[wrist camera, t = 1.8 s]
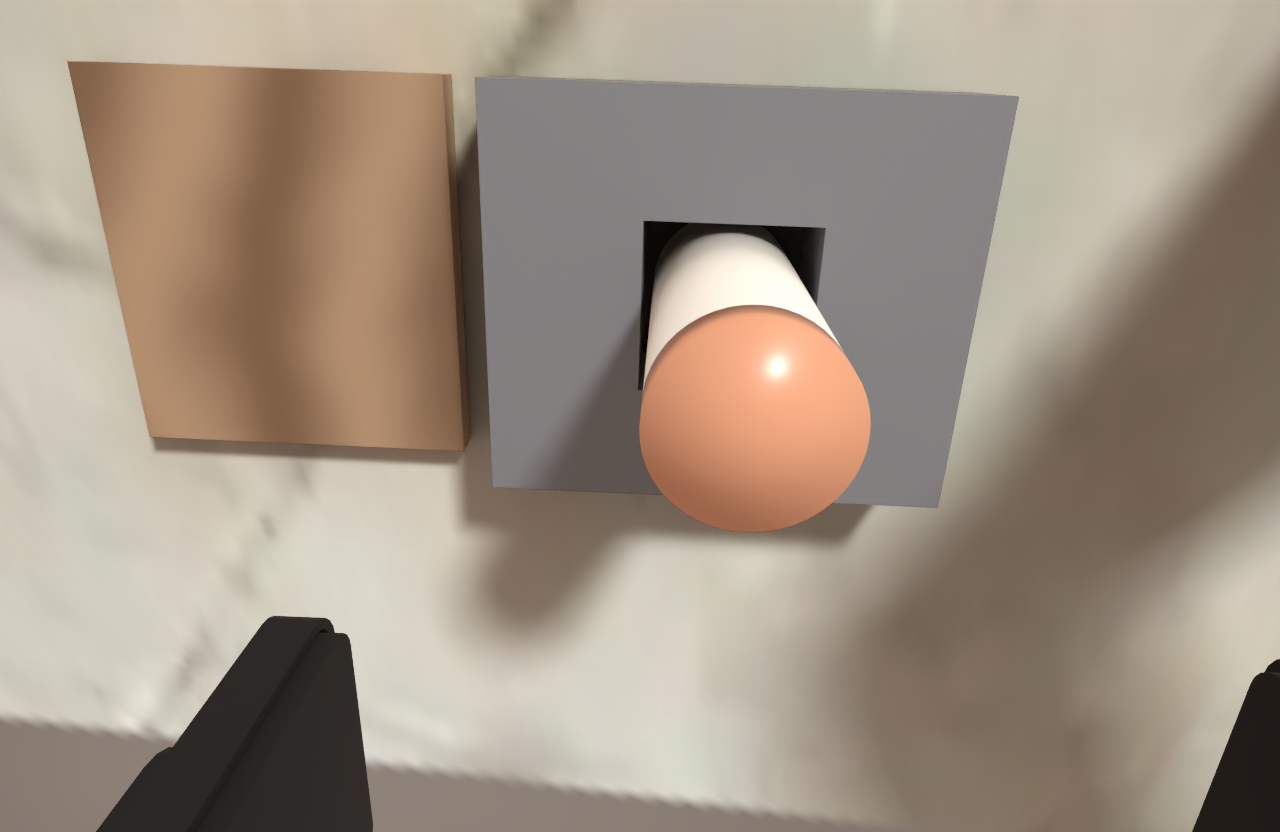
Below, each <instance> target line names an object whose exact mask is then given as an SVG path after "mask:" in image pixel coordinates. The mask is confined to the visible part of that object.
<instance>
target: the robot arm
mask: <svg viewBox="0 0 1280 832" xmlns="http://www.w3.org/2000/svg"><path fill="white" fill-rule="evenodd" d="M372 831H373V821H372V812H371V804H370V796H369V788H368V780H367V772H366V764H365V756H364V748H363V740H362V732H361V724H360V716H359V708H358V700H357V692H356V683H355V675H354V667H353V659H352V651H351V644H350V640H349V637H348V636H347V634H344V633H335V632H334V628H333V625H332V623H331V622H330V620H328V619H326V618H310V617H286V616H273V617H270V618H268V619H267V620H266V621H265V622H264V623H263V624H262V625H261V627H260V628H259V630H258V631H257V632H256V634H255V635H254V636H253V638H252V639H251V641H250V642H249V643H248V645H247V646H246V647H245V649H244V650H243V652H242V653H241V654H240V656H239V657H238V658H237V660H236V661H235V663H234V664H233V665H232V667H231V668H230V669H229V671H228V672H227V674H226V675H225V676H224V678H223V679H222V680H221V682H220V683H219V685H218V686H217V687H216V689H215V690H214V691H213V693H212V694H211V696H210V697H209V698H208V700H207V701H206V702H205V704H204V705H203V707H202V708H201V709H200V711H199V712H198V713H197V715H196V716H195V718H194V719H193V720H192V722H191V723H190V724H189V726H188V727H187V729H186V730H185V731H184V733H183V734H182V735H181V737H180V738H179V740H178V741H177V742H176V744H175V745H174V746H173V747H168V748H167V749H165V750H163V751H161V752H160V753H158V754H156V755H155V756H154V757H153V759H152V760H151V761H150V762H149V763H148V764H147V765H146V766H145V767H144V768H143V770H142V771H141V772H140V774H139V775H138V776H137V778H136V779H135V780H134V782H133V783H132V785H131V786H130V787H129V789H128V790H127V791H126V792H125V794H124V795H123V796H122V798H121V799H120V801H119V802H118V803H117V804H116V806H115V807H114V809H113V810H112V811H111V812H110V814H109V815H108V817H107V818H106V819H105V821H104V822H103V823H102V825H101V826H100V827H99V829H98V830H97V831H96V832H372ZM1192 832H1280V659H1278V660H1276V661H1274V662H1273V663H1271V664H1270V665H1269V666H1268V667H1267V669H1266V671H1265V672H1264V673H1260V674H1258V675H1257V676H1256V677H1255V678H1254V679H1253V681H1252V682H1251V684H1250V687H1249V689H1248V692H1247V695H1246V697H1245V700H1244V702H1243V705H1242V707H1241V710H1240V712H1239V715H1238V717H1237V720H1236V722H1235V725H1234V727H1233V730H1232V732H1231V735H1230V738H1229V740H1228V743H1227V745H1226V748H1225V750H1224V753H1223V755H1222V758H1221V760H1220V763H1219V765H1218V768H1217V770H1216V773H1215V775H1214V778H1213V781H1212V783H1211V786H1210V788H1209V791H1208V793H1207V796H1206V798H1205V801H1204V803H1203V806H1202V808H1201V811H1200V813H1199V816H1198V819H1197V821H1196V824H1195V826H1194V829H1193V831H1192Z"/></svg>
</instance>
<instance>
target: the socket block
mask: <svg viewBox="0 0 1280 832" xmlns="http://www.w3.org/2000/svg"><path fill="white" fill-rule="evenodd" d="M475 89H476V113H477V136H478V160H479V183H480V207H481V230H482V254H483V277H484V301H485V324H486V348H487V371H488V395H489V419H490V442H491V466H492V487H501V488H523V489H544V490H565V491H587V492H608V493H630V494H651V495H663V493H662V492H661V491H660V490H659V488H658V487H657V485H656V484H655V483H654V481H653V480H652V478H651V476H650V474H649V472H648V470H647V468H646V465H645V462H644V459H643V456H642V451H641V445H640V434H639V426H640V415H641V405H642V395H643V385H644V375H645V365H646V355H647V353H642V341H643V313H644V284H645V255H646V226H647V221H666V222H692V223H717V224H743V225H768V226H794V227H805V231H804V240H803V250H802V259H801V268H800V277H799V278H800V280H801V281H802V283H803V285H804V286H805V288H806V290H807V291H808V293H809V295H810V296H811V298H812V300H813V301H814V303H815V305H816V306H817V308H818V310H819V311H820V313H821V315H822V316H823V318H824V320H825V321H826V323H827V325H828V327H829V328H830V330H831V332H832V333H833V335H834V337H835V338H836V340H837V342H838V343H839V345H840V347H841V348H842V350H843V352H844V353H845V355H846V357H847V358H848V360H849V362H850V363H851V365H852V367H853V368H854V370H855V372H856V374H857V375H858V377H859V379H860V381H861V383H862V385H863V387H864V390H865V393H866V395H867V399H868V404H869V409H870V420H871V428H870V439H869V443H868V448H867V452H866V455H865V457H864V460H863V462H862V465H861V467H860V469H859V471H858V472H857V474H856V476H855V478H854V479H853V481H852V482H851V483H850V485H849V486H848V487H847V489H846V490H845V491H844V492H843V493H842V494H841V495H840V496H839V497H838V498H837V499H836V500H835V501H834V502H833V503H843V504H865V505H886V506H907V507H929V508H938V505H939V500H940V495H941V490H942V485H943V480H944V474H945V469H946V464H947V459H948V454H949V449H950V444H951V439H952V434H953V429H954V424H955V419H956V414H957V409H958V403H959V398H960V393H961V388H962V383H963V378H964V373H965V368H966V363H967V358H968V353H969V348H970V343H971V338H972V332H973V327H974V322H975V317H976V312H977V307H978V302H979V297H980V292H981V287H982V282H983V277H984V272H985V266H986V261H987V256H988V251H989V246H990V241H991V236H992V231H993V226H994V221H995V216H996V211H997V206H998V201H999V195H1000V190H1001V185H1002V180H1003V175H1004V170H1005V165H1006V160H1007V155H1008V150H1009V145H1010V140H1011V135H1012V130H1013V124H1014V119H1015V114H1016V109H1017V104H1018V99H1019V97H1018V96H1006V95H994V94H981V93H963V92H935V91H906V90H878V89H849V88H821V87H793V86H764V85H736V84H708V83H679V82H651V81H622V80H594V79H566V78H537V77H509V76H495V77H475Z"/></svg>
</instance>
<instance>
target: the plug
mask: <svg viewBox="0 0 1280 832" xmlns="http://www.w3.org/2000/svg"><path fill="white" fill-rule="evenodd" d="M870 428H871V420H870V409H869V404H868V399H867V395H866V393H865V390H864V387H863V385H862V383H861V381H860V379H859V377H858V375H857V374H856V372H855V370H854V368H853V367H852V365H851V363H850V362H849V360H848V358H847V357H846V355H845V353H844V352H843V350H842V348H841V347H840V345H839V343H838V342H837V340H836V338H835V337H834V335H833V333H832V332H831V330H830V328H829V327H828V325H827V323H826V321H825V320H824V318H823V316H822V315H821V313H820V311H819V310H818V308H817V306H816V305H815V303H814V301H813V300H812V298H811V296H810V295H809V293H808V291H807V290H806V288H805V286H804V285H803V283H802V281H801V280H800V278H799V276H798V275H797V273H796V271H795V270H794V268H793V266H792V265H791V263H790V261H789V260H788V258H787V256H786V255H785V253H784V251H783V250H782V248H781V246H780V245H779V243H778V242H777V240H776V239H775V238H774V237H773V236H772V235H771V234H770V233H769V232H768V231H767V230H766V229H765V228H763V227H762V226H761V225H743V224H717V223H692V222H691V223H689V224H688V225H686V226H684V227H683V228H682V229H680V230H679V231H678V232H677V233H675V235H674V236H673V237H672V238H671V239H670V240H669V241H668V243H667V244H666V245H665V247H664V248H663V250H662V252H661V254H660V256H659V259H658V261H657V264H656V269H655V274H654V284H653V294H652V304H651V314H650V324H649V334H648V345H647V355H646V365H645V375H644V385H643V395H642V405H641V415H640V426H639V434H640V445H641V451H642V456H643V459H644V462H645V465H646V468H647V470H648V472H649V474H650V476H651V478H652V480H653V481H654V483H655V484H656V485H657V487H658V488H659V490H660V491H661V492H662V493H663V495H664V496H665V497H666V498H667V499H668V500H669V501H670V502H671V503H672V504H674V505H675V506H676V507H677V508H678V509H679V510H681V511H682V512H684V513H685V514H687V515H688V516H690V517H692V518H694V519H696V520H698V521H700V522H702V523H704V524H707V525H710V526H713V527H716V528H719V529H724V530H728V531H735V532H766V531H774V530H778V529H782V528H787V527H790V526H792V525H795V524H798V523H801V522H803V521H805V520H807V519H809V518H811V517H813V516H815V515H816V514H818V513H819V512H821V511H822V510H824V509H825V508H827V507H828V506H829V505H830V504H832V503H833V502H834V501H835V500H836V499H837V498H838V497H839V496H840V495H841V494H842V493H843V492H844V491H845V490H846V489H847V487H848V486H849V485H850V483H851V482H852V481H853V479H854V478H855V476H856V474H857V472H858V471H859V469H860V467H861V465H862V462H863V460H864V457H865V455H866V452H867V448H868V443H869V439H870Z"/></svg>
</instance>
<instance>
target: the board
mask: <svg viewBox="0 0 1280 832" xmlns="http://www.w3.org/2000/svg"><path fill="white" fill-rule="evenodd" d="M67 62H68V66H69V71H70V76H71V80H72V85H73V89H74V94H75V98H76V103H77V108H78V112H79V117H80V121H81V126H82V130H83V135H84V139H85V144H86V149H87V153H88V158H89V162H90V167H91V171H92V176H93V180H94V185H95V190H96V194H97V199H98V203H99V208H100V212H101V217H102V222H103V226H104V231H105V235H106V240H107V244H108V249H109V253H110V258H111V263H112V267H113V272H114V276H115V281H116V285H117V290H118V295H119V299H120V304H121V308H122V313H123V317H124V322H125V326H126V331H127V336H128V340H129V345H130V349H131V354H132V358H133V363H134V367H135V372H136V377H137V381H138V386H139V390H140V395H141V399H142V404H143V409H144V413H145V418H146V422H147V427H148V431H149V436H150V437H166V438H188V439H209V440H231V441H253V442H275V443H297V444H319V445H340V446H362V447H384V448H406V449H428V450H450V451H464V450H465V448H466V446H467V445H468V443H469V441H470V420H469V401H468V382H467V363H466V344H465V325H464V306H463V287H462V268H461V250H460V231H459V212H458V193H457V174H456V155H455V136H454V117H453V98H452V79H451V74H424V73H395V72H367V71H339V70H310V69H282V68H253V67H225V66H197V65H168V64H140V63H111V62H70V61H67Z"/></svg>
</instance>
